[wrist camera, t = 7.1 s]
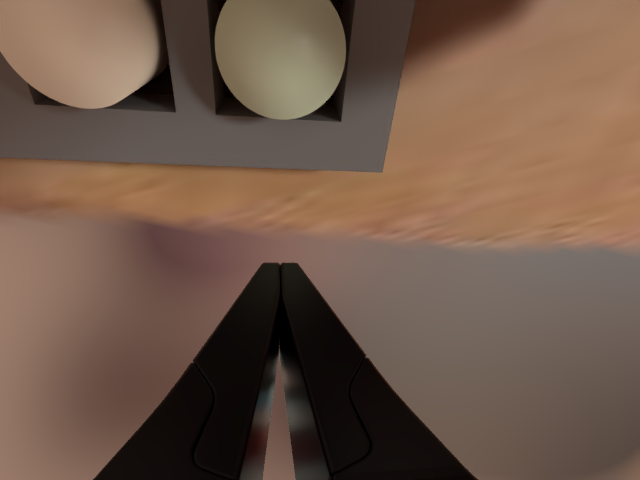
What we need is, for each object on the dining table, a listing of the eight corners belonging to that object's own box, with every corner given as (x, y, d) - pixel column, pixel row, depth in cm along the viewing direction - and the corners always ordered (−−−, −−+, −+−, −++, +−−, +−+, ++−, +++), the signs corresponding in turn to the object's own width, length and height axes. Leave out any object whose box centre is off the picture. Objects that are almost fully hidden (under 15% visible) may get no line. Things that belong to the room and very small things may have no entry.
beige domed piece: (164, -35, 14) (126, -45, 11) (180, 87, 17) (153, 112, 13) (39, -48, 14) (-47, -64, 10) (75, 80, 16) (17, 104, 13)
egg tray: (409, -92, 14) (437, -110, 12) (369, 150, 20) (382, 172, 17) (-327, -194, 11) (-500, -249, 9) (-129, 127, 17) (-199, 149, 14)
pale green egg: (335, -16, 15) (354, -20, 12) (325, 97, 18) (338, 122, 14) (225, -28, 15) (208, -36, 11) (232, 90, 17) (219, 116, 14)
